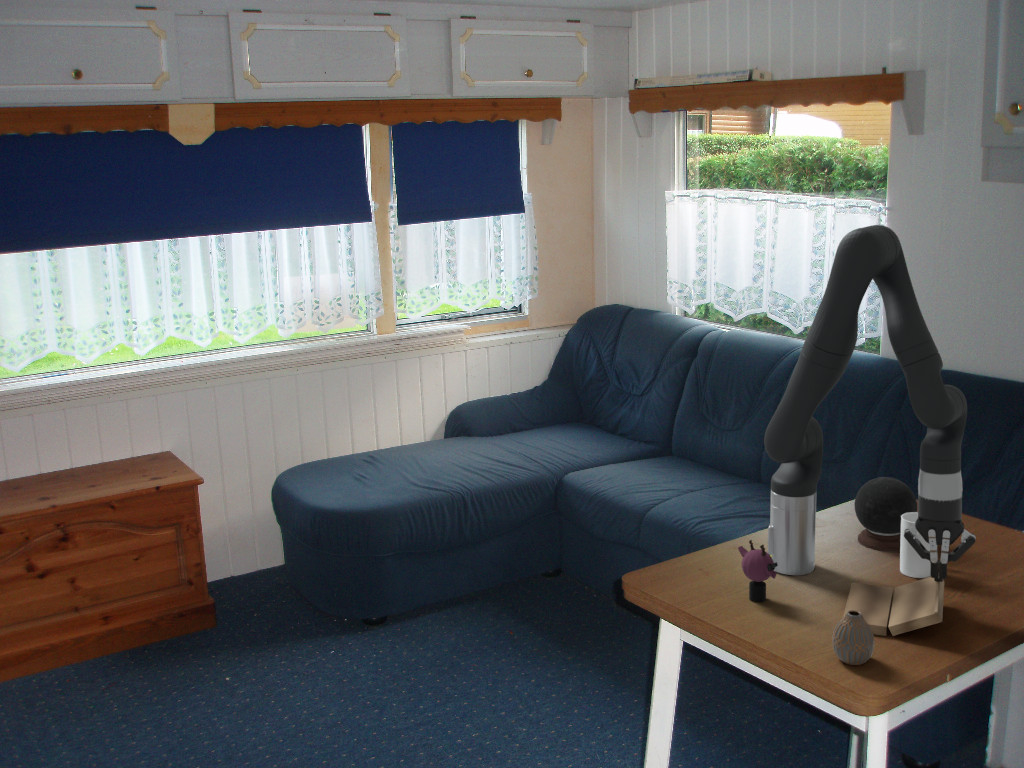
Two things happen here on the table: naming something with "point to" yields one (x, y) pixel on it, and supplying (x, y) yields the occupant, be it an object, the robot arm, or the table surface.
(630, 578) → the table surface
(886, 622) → the fixed plank
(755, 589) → the figurine
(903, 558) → the mug
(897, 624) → the board
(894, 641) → the table surface
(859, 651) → the vase
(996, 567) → the table surface
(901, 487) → the black sphere on base
